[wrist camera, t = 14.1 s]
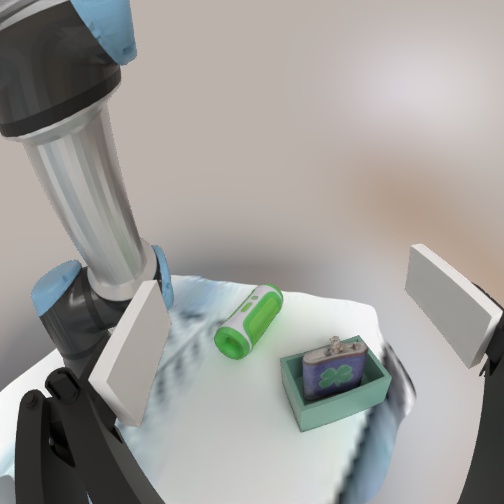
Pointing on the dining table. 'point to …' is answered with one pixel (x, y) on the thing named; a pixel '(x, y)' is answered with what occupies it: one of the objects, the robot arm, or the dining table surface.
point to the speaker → (249, 321)
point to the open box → (340, 404)
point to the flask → (333, 369)
